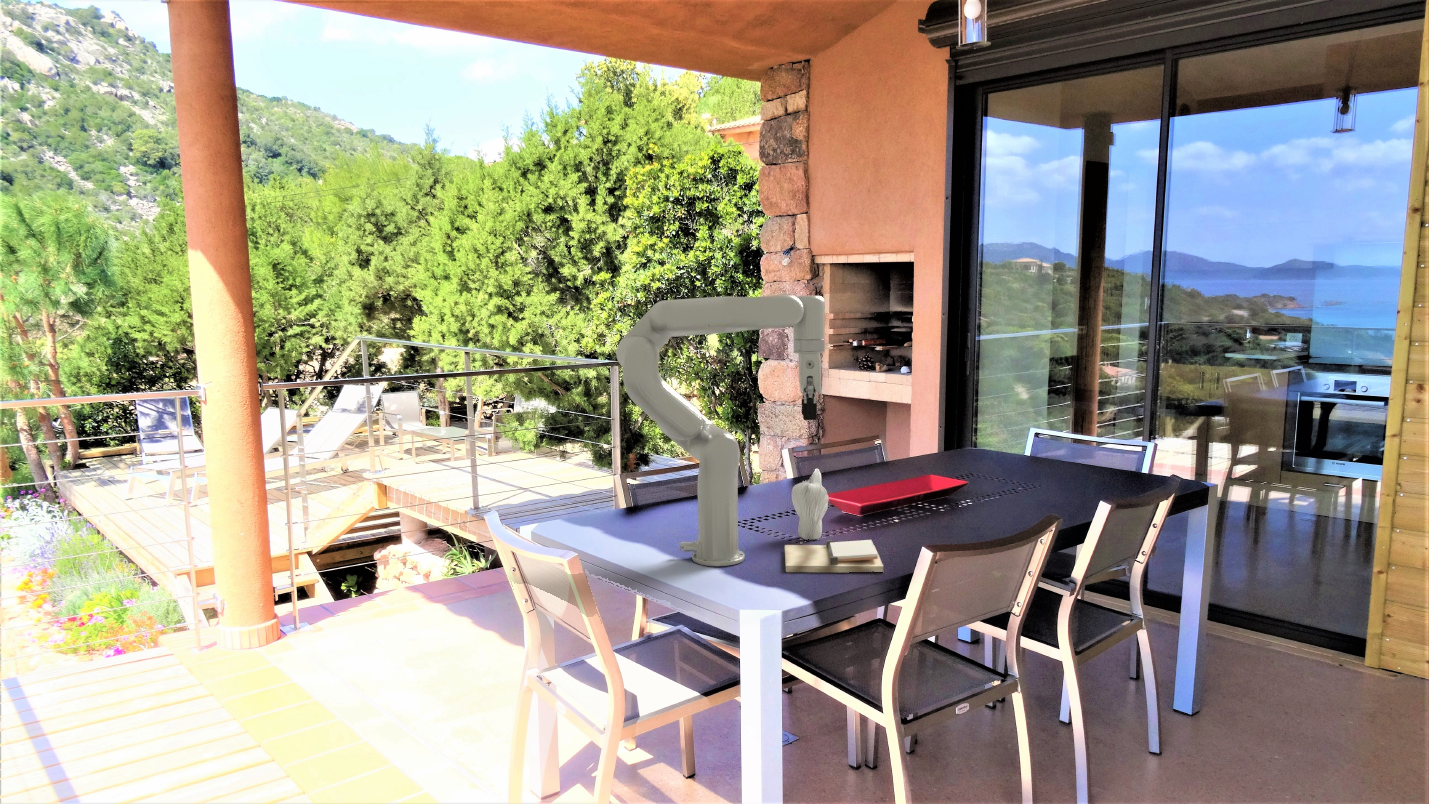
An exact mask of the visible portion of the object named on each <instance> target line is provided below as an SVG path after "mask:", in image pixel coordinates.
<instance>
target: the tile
mask: <svg viewBox="0 0 1429 804" xmlns="http://www.w3.org/2000/svg"><path fill="white" fill-rule="evenodd" d="M874 546H875V545H874V543H873V541H872V539H864V540H863V539H861V540H849V541H835V542H834V541H833V542H830V543H829V544H828V548H829V552H830V556H837V557H838V562H839V561H854V560H869V559H878V555H879V554H878V555H877V552H878V551H877V552H876V550H877V548H876V546H875V547H874ZM875 548H876V549H875Z"/></svg>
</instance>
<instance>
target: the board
mask: <svg viewBox="0 0 1429 804" xmlns="http://www.w3.org/2000/svg"><path fill="white" fill-rule="evenodd" d="M830 542H834V540H833V539H826V544H825V545H823V544H822V545H821V544H817V545H816V544H785V545H784V560H785V561H784V563H785V572H786V573H849V572H868V571H869V572H870V571H871V572H872V571H874V572H883V573H884V564H883V563H882V560H881V557H880V554H879V552H878V551H877V548H876V546H875V545H874V547H875V549H876V552H877V555H878V559H869V560H854V561H839V562H838V557H837V556H830V552H829V548H828V544H829V543H830Z"/></svg>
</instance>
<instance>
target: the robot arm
mask: <svg viewBox="0 0 1429 804" xmlns="http://www.w3.org/2000/svg"><path fill="white" fill-rule="evenodd" d="M825 305H826V303H825V298H824V297H823V296H821V295H813V294H812V295H798V296H795V295H794V294H793V295H792V294H773V295H765V296H727V295H726V296H711V297H709V296H708V297H697V298H696V297H695V298H694V297H693V298H682V299H681V298H680V299H668V300H660V301H658V302H656V303H654V304H653V305H652V306H651V307H650V308H649V310H648V311H647V312H646V313H645V314H644V315H643V316H642V317H641V318H640V319H639V320H638V321H637V323H636V324H634V326H633V327H632V328H631V329H630V330H628V332H627V334H625V335H624V336H623V337H622V339H621V340H620V342H619V343H618V345H617V348H616V353H615V355H616V359H617V360H616V361H617V362H618V363H619V365H620V366H621V368H622V381H623V385H624V388H625V392H626V393H627V395H628V397H629V398H630V400H631V401H632V402H633V403H634V404H635V405H636V406H637V407H638V408H639V409H640V410H641V411H643V412H644V413H645V414H646V415H647V416H648V417H649V418H650V419H652V421H654V422H655V423H656V425H657V427H658V429H659V430H660V431H661V432H662V433H663V434H664V435H665V436H667V437H668V438H669V439H671V441H673V442H674V443H675V444H677V445H678V446H679V448H680V447H681V448H682V449H683V451H685V452H686V453H688V454H689V455H690V456H692V457H693V458H694V459H695V460H697V461H698V462H699V464H698V465H699V467H698V475H697V525H698V530H697V531H698V534H697V535H698V536H697V540H692V541H691V542H690V541H689V542H688V541H680V544H679V548H680V551H683V552H686V553H690V552H693V553H692V555H691V557H692V561H693V562H694V563H695V564H698V565H702V566H707V567H708V566H709V567H726V566H727V567H728V566H733V565H737V564H740V563H742V562H743V561H744V560H746V559H745V555H746V554H745V553H744V551H742V550H739V508H738V507H739V503H738V502H739V501H738V500H739V499H738V479H739V478H738V476H739V467H740V459H741V450H740V446H739V442H738V440H737V439H736V438H735V436H734V435H733V434H732V433H731V432H729V431H728V430H727V429H723V428H721V427H718V426H717V425H715V424H714V423H713V422H711V421H710V420H709V419H707V417H706V416H705V415H703V414H702V412H701V410H700V409H699V408H698V407H697V406H696V405H695V404H694V403H692V402H691V401H689V400H688V399H687V398H686V397H684V396H683V395H681V394H680V393H679V392H677V391H676V390H675V389H674V388H673V386H671V385H670V384H669V383H668V382H667V381H666V380H664V378H662V375H661V374H660V372H659V371H660V370H659V362H660V350H661V349H662V348H663V347H664V346H665V345H666V344H667V342H668V341H669V340H670V339H671V338H672V337H691V336H699V335H713V334H715V335H717V334H727V333H729V334H730V333H731V334H732V333H738V332H745V331H756V330H768V329H783V328H793V329H792V330H793V335H792V336H793V340H792V341H793V343H792V344H793V352H792V353H793V354H798V358H797V359H798V360H797V361H798V364H797V365H798V383H799V391H800V393H801V395H802V398H801V415H802V420H804V421H817V417H818V413H817V412H818V408H817V407H818V404H817V395H816V394H818V395H821V394H822V361H821V359H822V357H821V354H825V351H826V350H825V349H826V348H825V347H826V346H825V345H826V343H825V342H826V341H825V340H826V339H825V338H826V337H825V333H826V332H825V331H826V330H825V325H826V323H825V322H826V319H825V317H826V316H825V312H826V310H825V309H826V306H825Z"/></svg>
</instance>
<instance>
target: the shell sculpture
mask: <svg viewBox="0 0 1429 804" xmlns="http://www.w3.org/2000/svg"><path fill="white" fill-rule="evenodd" d="M790 495H791V501H792V506H793V508H794V510H795V512H796V514H797V515H798V517H799V521H798V528H797V529H798V530H797V533H798V535H799V537H800V538H801V539H802V540H806V541H809V540H810V541H812V540H818V539H820V538H821V537H822V533H823V532H822V531H823V523H822V522H823V521H822V519H823V518H824V516H825V514H826V513H827V510H828V508H829V503H828V502H829V500H830V497H829V495H828V490H826V488H825V487H824V486H823V485H822V473H821V471H820V469H819V468H815V469H814V471H813V472H812V474H811V476H810V479H807V480H806V479H805V481H804V480H802V482H799V483H796V484H795V485H794V486H793V487H792V489H791V494H790ZM808 539H809V540H808Z"/></svg>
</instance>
